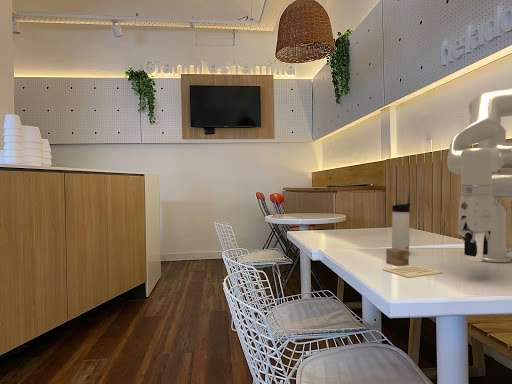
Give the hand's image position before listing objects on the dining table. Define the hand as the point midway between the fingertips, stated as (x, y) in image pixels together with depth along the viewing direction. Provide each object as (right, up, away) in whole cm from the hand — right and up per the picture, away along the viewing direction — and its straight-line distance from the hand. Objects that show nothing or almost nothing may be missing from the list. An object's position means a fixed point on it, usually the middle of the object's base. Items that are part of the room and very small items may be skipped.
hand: (476, 253), depth 97 cm
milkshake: (0, -2, 0) cm, 2 cm away
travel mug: (-6, -7, +36) cm, 37 cm away
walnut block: (-15, -7, +18) cm, 25 cm away
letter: (-15, -7, +7) cm, 18 cm away
